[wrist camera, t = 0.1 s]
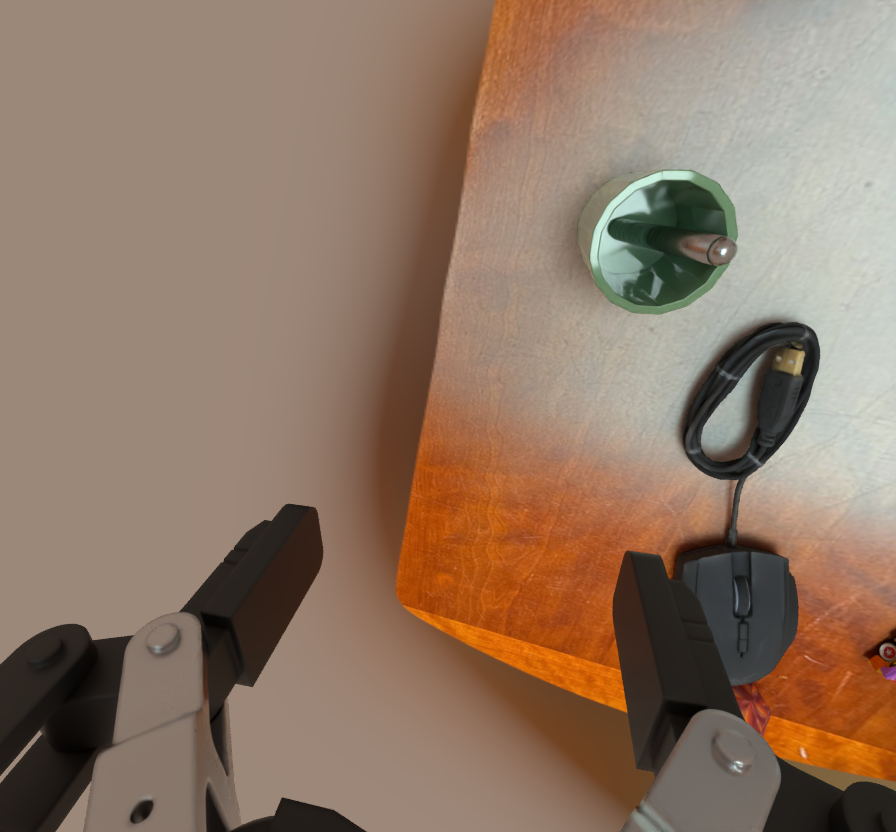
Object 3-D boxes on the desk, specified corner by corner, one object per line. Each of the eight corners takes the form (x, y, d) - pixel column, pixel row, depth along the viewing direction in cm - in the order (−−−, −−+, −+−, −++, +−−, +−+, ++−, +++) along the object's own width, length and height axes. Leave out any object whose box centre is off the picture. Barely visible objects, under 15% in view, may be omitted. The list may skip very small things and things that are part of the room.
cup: (585, 172, 27) (601, 168, 19) (692, 173, 26) (756, 170, 18) (571, 276, 30) (581, 310, 22) (668, 280, 29) (714, 318, 21)
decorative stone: (677, 665, 47) (710, 647, 41) (747, 690, 46) (792, 676, 40) (673, 735, 44) (709, 727, 37) (749, 765, 42) (800, 762, 36)
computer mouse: (663, 652, 44) (678, 710, 39) (675, 326, 30) (700, 354, 25) (775, 657, 41) (805, 719, 37) (843, 307, 28) (906, 334, 23)
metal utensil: (606, 238, 28) (648, 265, 19) (609, 217, 27) (654, 235, 19) (666, 240, 28) (737, 268, 19) (670, 219, 27) (746, 237, 18)
